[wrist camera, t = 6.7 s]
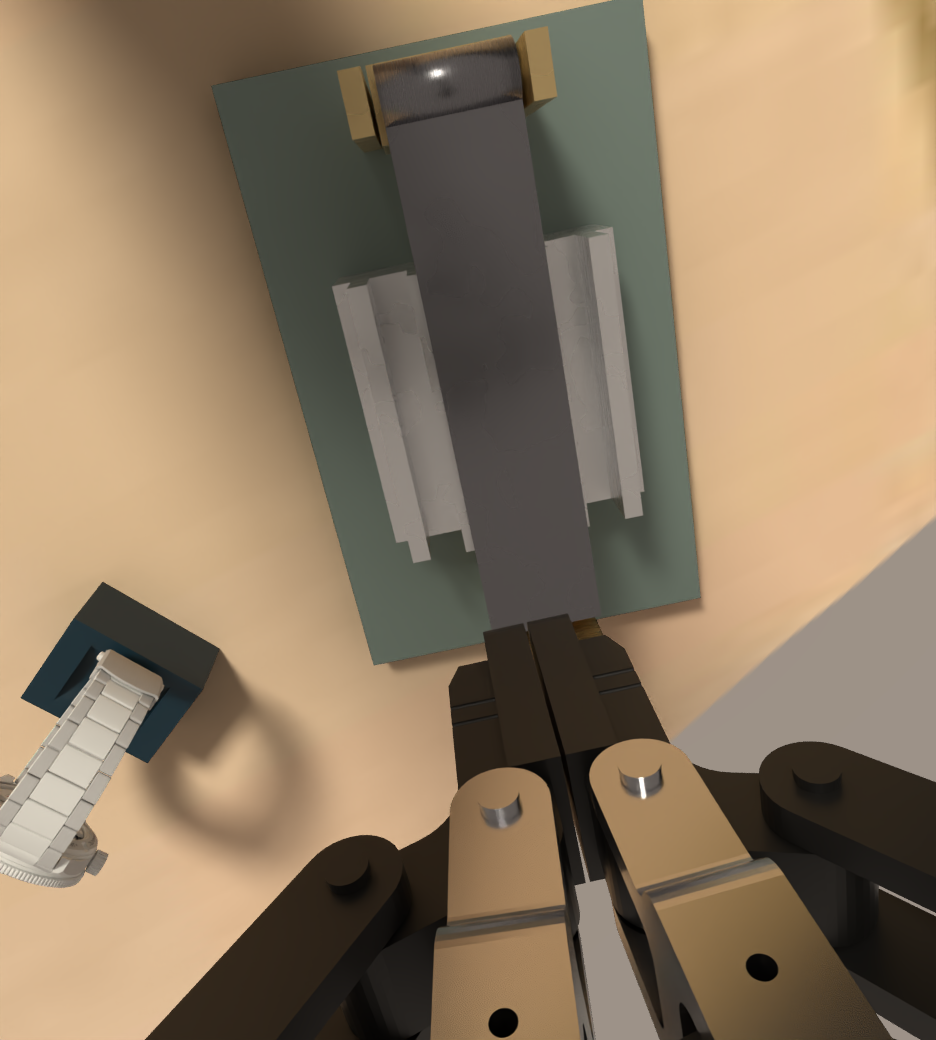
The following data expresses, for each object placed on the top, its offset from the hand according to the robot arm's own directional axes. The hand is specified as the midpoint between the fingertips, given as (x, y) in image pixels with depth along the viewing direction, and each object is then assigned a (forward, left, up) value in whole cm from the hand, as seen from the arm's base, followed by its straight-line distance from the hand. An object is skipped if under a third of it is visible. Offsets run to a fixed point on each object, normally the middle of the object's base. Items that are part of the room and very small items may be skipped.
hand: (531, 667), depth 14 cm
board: (-1, +1, -19) cm, 19 cm away
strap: (-3, +1, -12) cm, 13 cm away
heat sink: (-1, +1, -18) cm, 18 cm away
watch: (+8, -16, -19) cm, 26 cm away
